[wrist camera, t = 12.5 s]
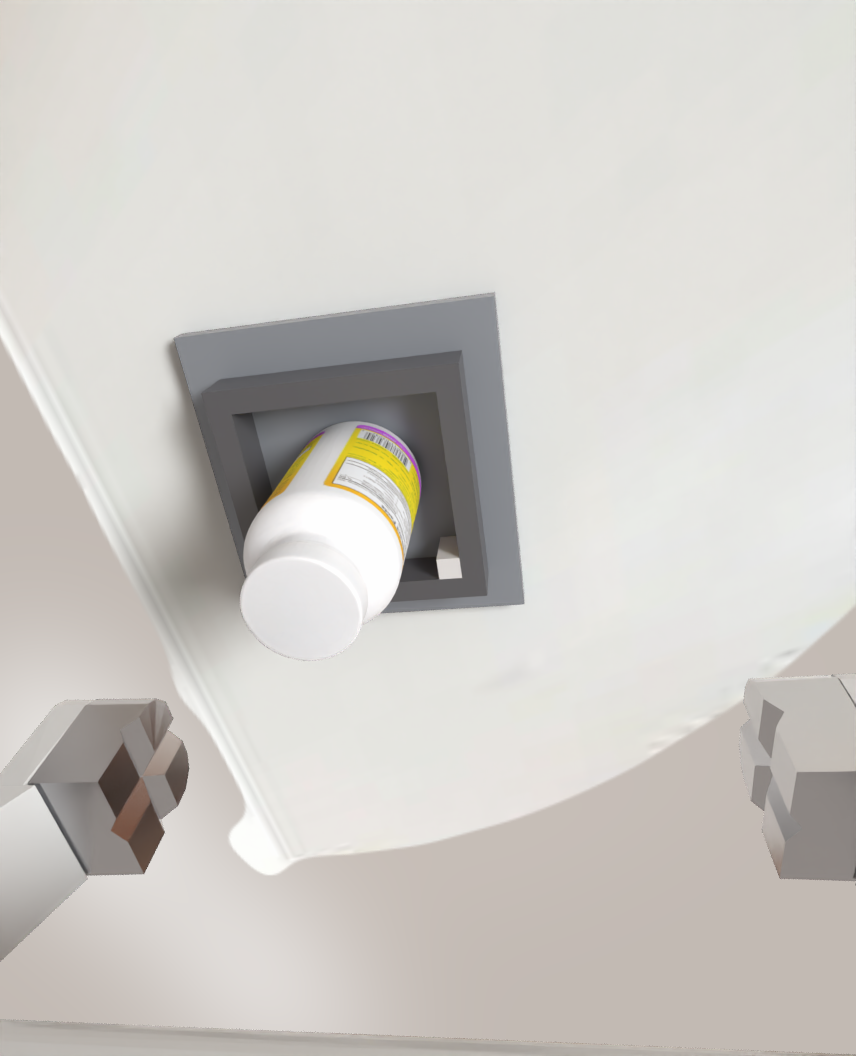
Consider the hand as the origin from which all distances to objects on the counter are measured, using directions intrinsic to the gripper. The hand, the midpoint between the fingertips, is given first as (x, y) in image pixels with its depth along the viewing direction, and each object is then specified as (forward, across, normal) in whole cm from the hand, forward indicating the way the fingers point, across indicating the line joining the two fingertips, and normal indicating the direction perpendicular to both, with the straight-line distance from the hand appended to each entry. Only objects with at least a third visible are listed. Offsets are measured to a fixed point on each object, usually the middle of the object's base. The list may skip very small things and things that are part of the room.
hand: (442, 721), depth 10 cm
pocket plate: (+27, +8, +8) cm, 29 cm away
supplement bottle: (+26, +7, +8) cm, 29 cm away
